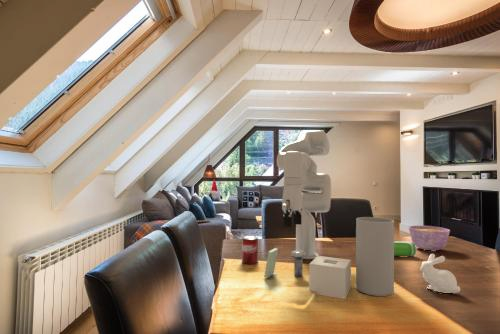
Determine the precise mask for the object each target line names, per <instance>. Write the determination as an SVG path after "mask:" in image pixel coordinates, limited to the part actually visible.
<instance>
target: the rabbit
mask: <svg viewBox="0 0 500 334" xmlns="http://www.w3.org/2000/svg"><path fill="white" fill-rule="evenodd" d="M435 257H436V255H435V254H434V253H430V254H429V256H428V259H427V260H426V261H425V260H424V261H422V262H421V266H420V268H419V270H420V272H422V277H423V280H424V281H425V282H427V283H428V284H429V285H427V286H426V289H427V288H428V289H433V290H434V291H438V292H443V293H453V294H452V295H454V294H458V293H459V292H460V291H461V287H460V286H459V285H458V282H457V277H456V276H455V275H454V273H452V272H451V271H449V270H447V269H438V268H435V267H434V265H436V264H441V263H443V262H445V261H446V257H445V256H444V255H441V256H438V257H436V258H435ZM428 286H429V287H428ZM434 291H433V292H434Z"/></svg>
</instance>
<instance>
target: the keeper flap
mask: <svg viewBox="0 0 500 334" xmlns="http://www.w3.org/2000/svg"><path fill="white" fill-rule="evenodd" d="M278 251H279V248H277V247H274V248H273V249H270V250H269V251H268V252H267V257H266V258H267V259H266V264H265V265H266V266H265V270H264V274H263V275H264V278H266V279H267V278H268V277H269V276H271V275H272V274H275V270H276V263H277V257H278V253H279V252H278Z"/></svg>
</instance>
